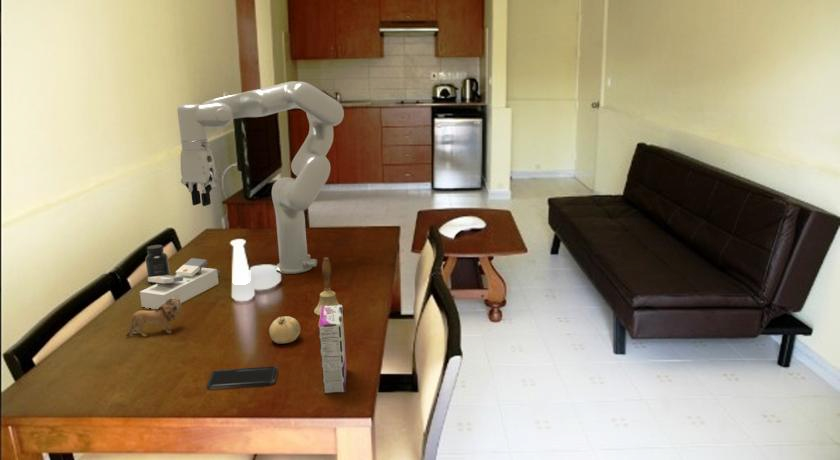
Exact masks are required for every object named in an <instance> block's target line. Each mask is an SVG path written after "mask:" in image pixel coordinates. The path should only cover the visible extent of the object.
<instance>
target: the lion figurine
mask: <svg viewBox="0 0 840 460" xmlns="http://www.w3.org/2000/svg"><path fill="white" fill-rule="evenodd" d="M181 310H182V303H180V299H178V298H175V297H171V298H169V299H168V300H167V302H165V303H164V304H163V305H161V306H160V307H159V308H158V309H157V310H155V309H153V310H137V311H136V312H134V313H133V315H132V317H131V320H130V327H129V331H128V332H127V333H126V334H125V337H129V336H130V335H131V333H132V334H134V335H136V334H138V333H140V335H141V336H142V338H143V337H144V338H146V337H148V334H147V333H145V332H144V330H143V329H144V327H145V322H146V323H148V324H151V325H152V324H153V325H157V324H161V323H162V324H163V329H164V330H165V332H166V333H167V334H171V333H172V332H173V331H172V330H171V329H170V322H171V321H174V320H176V318H177V317H178V315H179V314H180V313H181ZM137 328H138V330H136V329H137Z"/></svg>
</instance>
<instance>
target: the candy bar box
mask: <svg viewBox="0 0 840 460" xmlns="http://www.w3.org/2000/svg"><path fill="white" fill-rule="evenodd" d="M342 308H343V305H342V304H339V305H329V306H328V305H326V306H322V307H321V314H320V316H319V320H318V337H319V349H320V358H321V359H320V360H321V370H322V381H323V383H322V384H323V393H324V394H337V393H338V394H339V393H346V385H347V383H346V382H347V371H348V367H347V356H346V342H345V341H346V339H345V330H344V326H345V325H344V315H343V311H342Z"/></svg>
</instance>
